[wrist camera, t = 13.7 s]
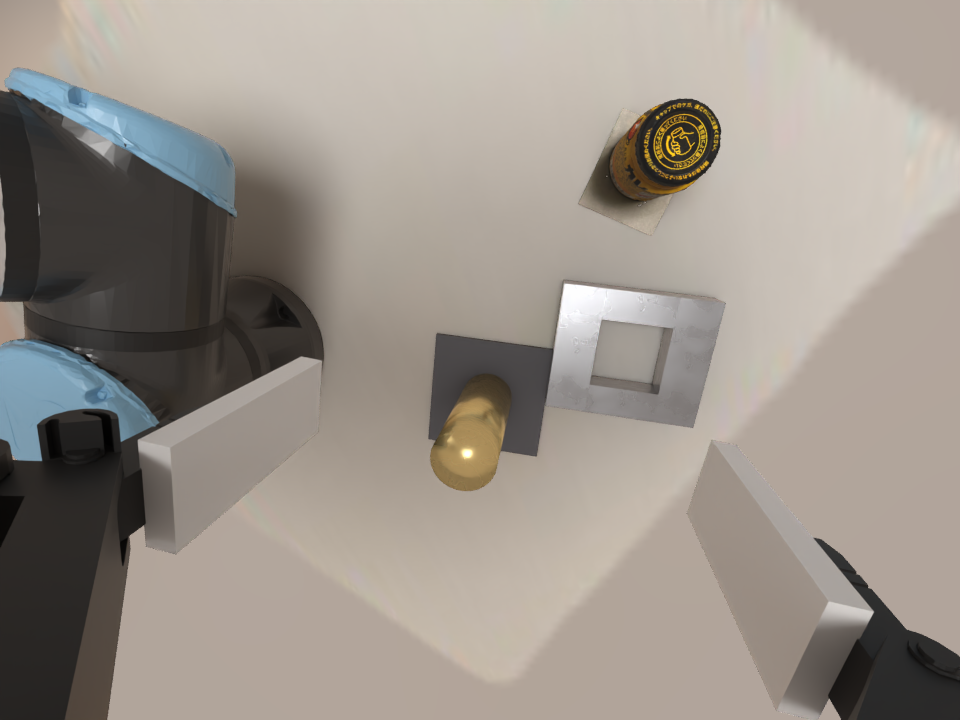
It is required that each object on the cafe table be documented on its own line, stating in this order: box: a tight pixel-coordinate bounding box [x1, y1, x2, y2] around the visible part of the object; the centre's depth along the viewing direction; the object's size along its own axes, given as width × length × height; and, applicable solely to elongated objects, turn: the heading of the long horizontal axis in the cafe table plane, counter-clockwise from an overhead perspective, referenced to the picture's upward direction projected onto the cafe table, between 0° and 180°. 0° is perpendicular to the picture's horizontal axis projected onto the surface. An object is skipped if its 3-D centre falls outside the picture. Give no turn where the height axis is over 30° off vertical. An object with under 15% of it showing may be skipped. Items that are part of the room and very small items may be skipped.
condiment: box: [579, 99, 721, 236], centre depth 36 cm, size 7×8×12 cm
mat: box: [428, 333, 553, 456], centre depth 49 cm, size 12×12×1 cm
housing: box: [545, 280, 726, 428], centre depth 44 cm, size 14×12×3 cm
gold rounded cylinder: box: [430, 374, 512, 491], centre depth 42 cm, size 5×5×14 cm
